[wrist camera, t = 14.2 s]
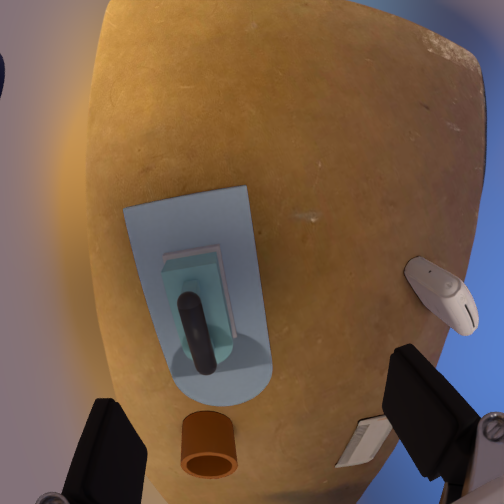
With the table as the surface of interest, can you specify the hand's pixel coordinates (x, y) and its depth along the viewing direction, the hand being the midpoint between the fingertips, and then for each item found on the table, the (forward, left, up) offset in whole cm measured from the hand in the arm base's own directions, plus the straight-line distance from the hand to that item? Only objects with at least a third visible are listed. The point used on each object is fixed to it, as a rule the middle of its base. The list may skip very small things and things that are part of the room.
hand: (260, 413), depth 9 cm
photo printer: (+28, -13, -28) cm, 42 cm away
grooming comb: (+21, -51, -28) cm, 62 cm away
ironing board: (-4, -9, -28) cm, 30 cm away
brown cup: (-10, -35, -28) cm, 46 cm away
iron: (-4, -6, -23) cm, 24 cm away
